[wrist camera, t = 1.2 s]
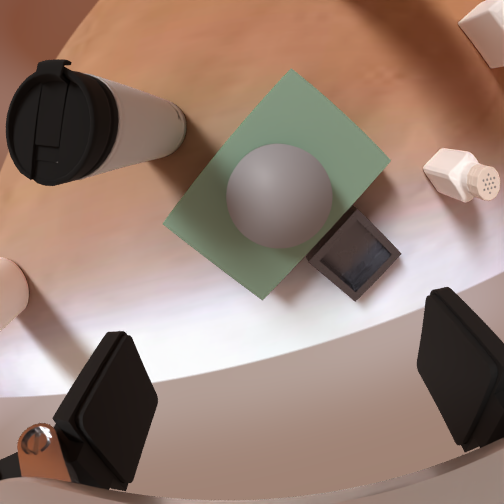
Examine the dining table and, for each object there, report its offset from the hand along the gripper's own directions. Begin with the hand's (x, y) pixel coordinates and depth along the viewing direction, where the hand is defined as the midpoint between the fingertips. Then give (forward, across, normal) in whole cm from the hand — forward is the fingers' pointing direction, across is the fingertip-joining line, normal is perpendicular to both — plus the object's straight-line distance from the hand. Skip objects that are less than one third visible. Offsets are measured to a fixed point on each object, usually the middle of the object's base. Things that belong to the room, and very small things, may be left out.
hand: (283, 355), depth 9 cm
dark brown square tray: (+25, -8, +7) cm, 27 cm away
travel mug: (+25, +10, -9) cm, 29 cm away
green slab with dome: (+25, -1, -1) cm, 25 cm away
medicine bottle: (+26, -31, -18) cm, 44 cm away
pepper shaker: (+25, -20, -1) cm, 32 cm away
